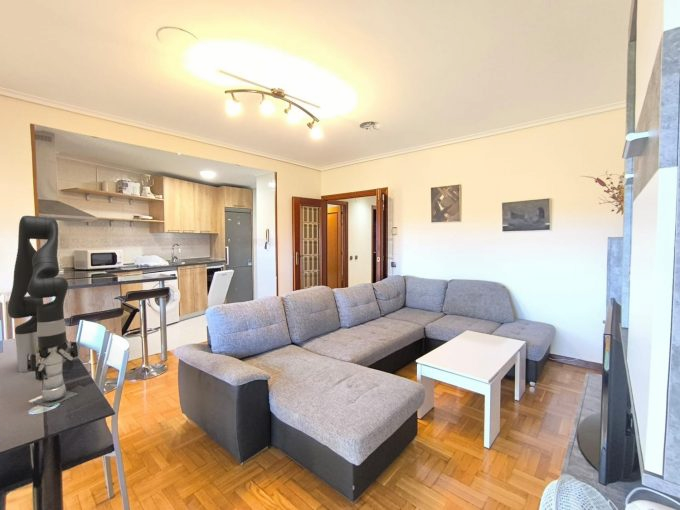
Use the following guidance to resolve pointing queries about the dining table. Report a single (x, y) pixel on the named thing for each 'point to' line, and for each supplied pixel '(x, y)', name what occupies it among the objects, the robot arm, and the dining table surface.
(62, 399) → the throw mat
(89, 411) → the dining table surface
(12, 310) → the robot arm
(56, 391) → the plastic bottle
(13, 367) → the dining table surface
